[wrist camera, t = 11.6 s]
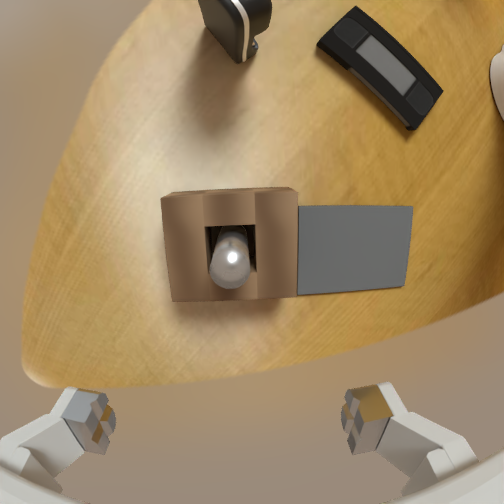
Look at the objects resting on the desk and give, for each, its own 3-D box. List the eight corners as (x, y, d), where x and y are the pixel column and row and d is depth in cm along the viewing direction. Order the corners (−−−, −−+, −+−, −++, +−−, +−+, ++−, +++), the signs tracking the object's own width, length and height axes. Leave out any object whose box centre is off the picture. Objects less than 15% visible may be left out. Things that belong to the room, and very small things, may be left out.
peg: (246, 222, 31) (249, 250, 22) (247, 249, 32) (250, 288, 23) (217, 223, 31) (208, 251, 22) (219, 250, 32) (211, 289, 22)
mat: (411, 206, 31) (413, 206, 31) (402, 284, 34) (404, 285, 34) (298, 205, 31) (298, 206, 30) (296, 293, 34) (297, 294, 33)
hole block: (288, 187, 30) (297, 192, 25) (288, 277, 33) (296, 297, 28) (172, 192, 30) (160, 198, 25) (181, 281, 33) (172, 301, 28)
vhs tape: (406, 131, 29) (415, 130, 27) (314, 46, 26) (318, 39, 24) (434, 93, 28) (443, 91, 26) (350, 12, 24) (355, 5, 23)
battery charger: (268, 50, 26) (283, 0, 15) (238, 67, 26) (237, 20, 15) (232, 8, 24) (230, -52, 13) (202, 23, 24) (187, -33, 13)
